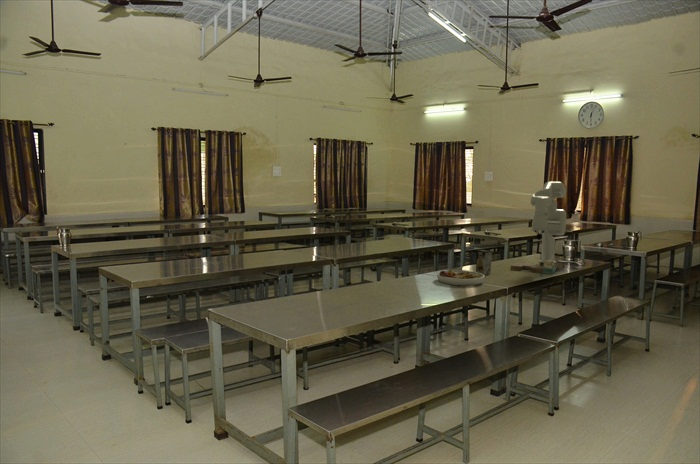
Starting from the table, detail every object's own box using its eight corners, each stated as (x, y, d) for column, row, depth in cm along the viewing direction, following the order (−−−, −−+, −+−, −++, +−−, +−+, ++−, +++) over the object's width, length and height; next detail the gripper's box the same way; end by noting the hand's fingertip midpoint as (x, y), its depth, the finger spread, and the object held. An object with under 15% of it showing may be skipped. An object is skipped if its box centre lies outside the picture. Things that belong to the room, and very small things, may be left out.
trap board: (515, 266, 402) (516, 262, 402) (556, 270, 388) (556, 266, 388) (510, 269, 388) (510, 265, 387) (552, 273, 373) (552, 269, 373)
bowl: (467, 276, 362) (467, 265, 361) (494, 285, 334) (494, 272, 333) (428, 279, 351) (428, 267, 350) (452, 288, 323) (453, 275, 322)
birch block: (547, 266, 384) (547, 259, 384) (553, 267, 380) (554, 260, 380) (543, 267, 381) (543, 260, 380) (549, 268, 377) (550, 261, 377)
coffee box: (475, 272, 376) (476, 249, 374) (482, 271, 378) (483, 249, 377) (483, 274, 368) (484, 251, 366) (491, 273, 370) (492, 251, 368)
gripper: (552, 214, 383) (550, 239, 385) (530, 213, 390) (529, 238, 392) (550, 215, 376) (549, 240, 378) (528, 214, 383) (527, 239, 386)
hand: (539, 239), depth 385 cm, fingers closed
